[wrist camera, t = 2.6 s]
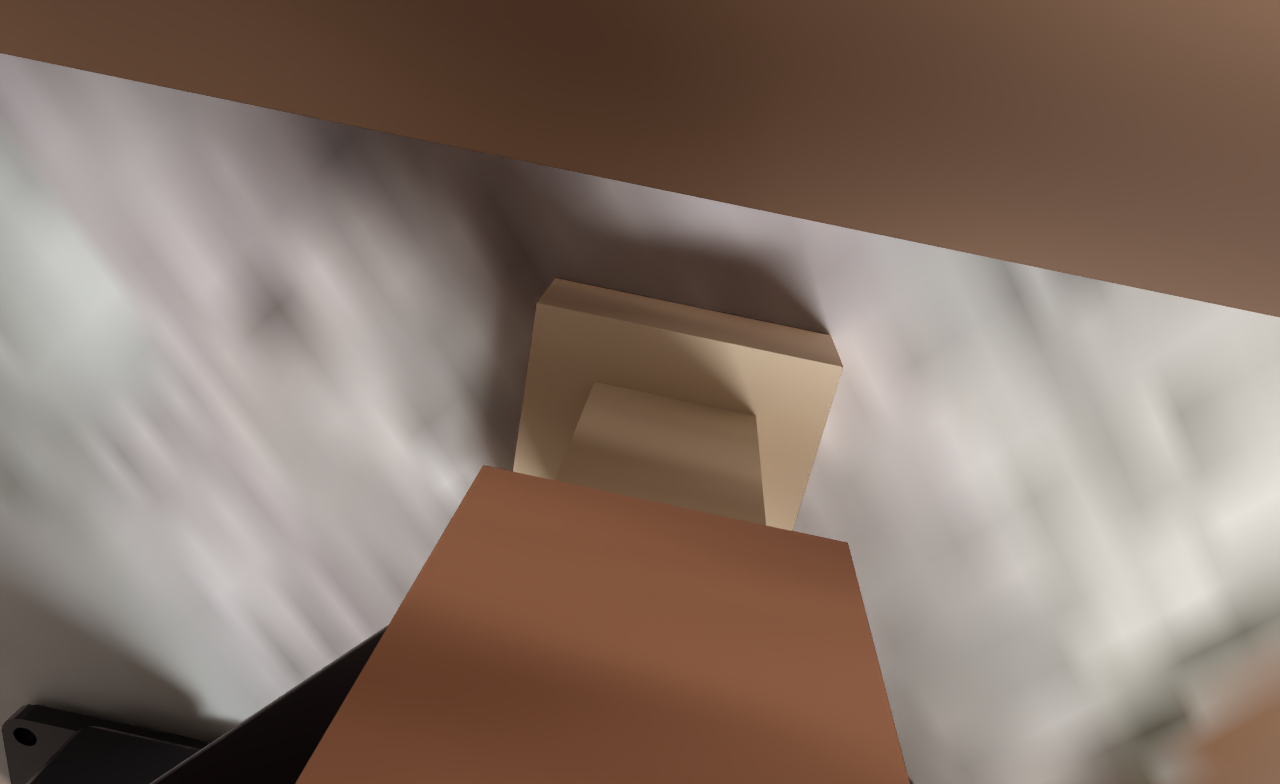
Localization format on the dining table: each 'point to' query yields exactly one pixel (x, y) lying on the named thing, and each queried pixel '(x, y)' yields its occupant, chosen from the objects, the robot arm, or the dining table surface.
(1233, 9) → the keyhole plate
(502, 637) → the copper peg
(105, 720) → the robot arm
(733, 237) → the dining table surface
